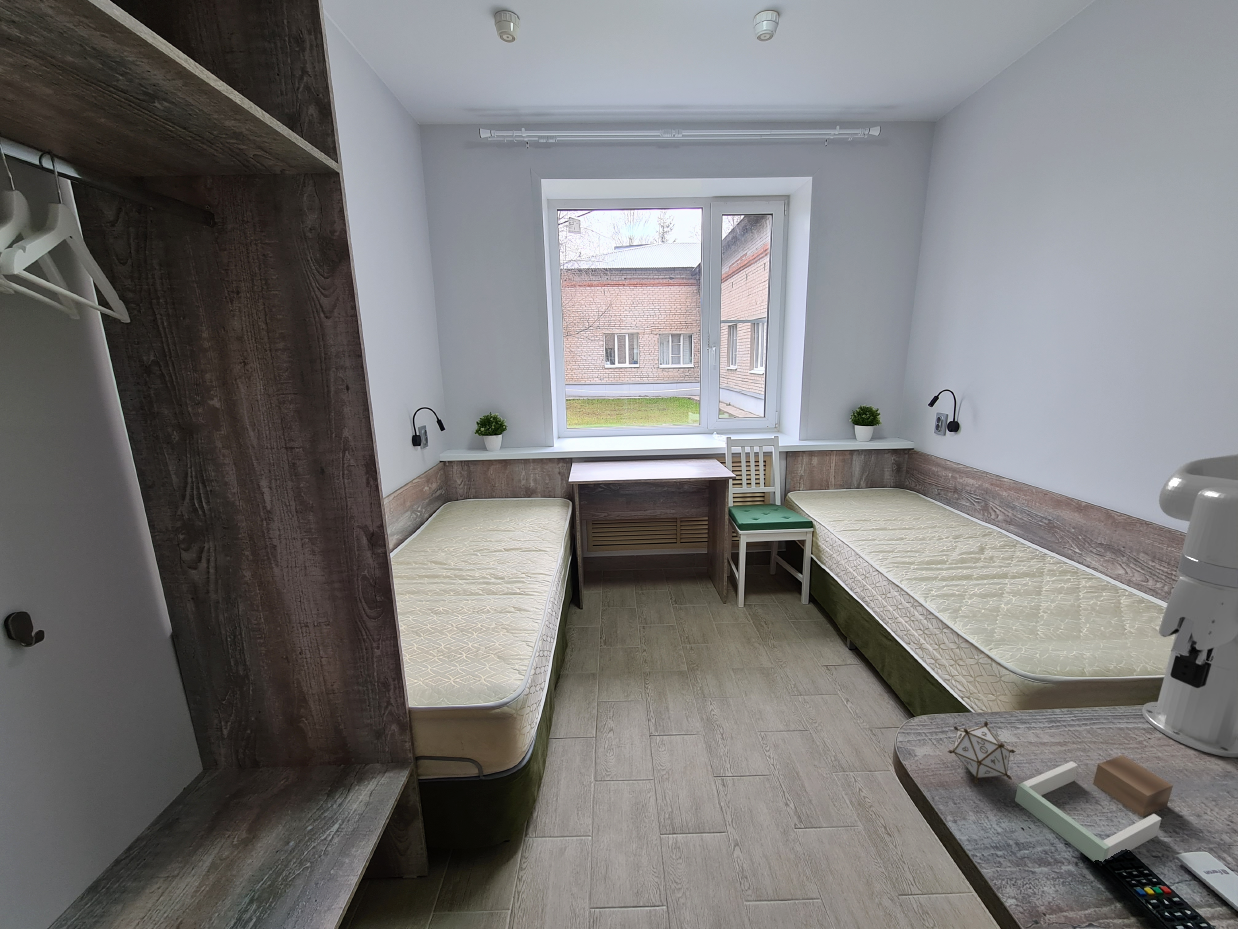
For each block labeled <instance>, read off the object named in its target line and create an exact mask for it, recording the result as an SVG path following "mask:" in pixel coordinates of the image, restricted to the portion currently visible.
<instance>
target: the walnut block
mask: <svg viewBox="0 0 1238 929" xmlns="http://www.w3.org/2000/svg"><path fill="white" fill-rule="evenodd" d="M1092 784H1093V785H1094V786H1095V787H1097V788H1098V789H1099V790H1100V791H1101V790H1102V791H1103V792H1105V794H1107V795H1108V796H1110V797H1111V798H1113V799H1115V800H1116V801H1117V802H1119V803H1120V804H1122V805H1123V806H1124V807H1127V808H1128V809H1129V810H1131V811H1132V812H1134V813H1135V814H1137V815H1138V816H1140V817H1141V818H1143V817H1145V816H1147V815H1148V816H1149V814H1153V813H1154V812H1157V811H1159V810H1161V809H1164V808H1166V807H1168V803H1169V800H1170V797H1171V794H1172V791H1173V787H1174V785H1173V784H1171V783H1169V782H1168V781H1166V780H1164V778H1161V777H1160V776H1158V775H1157V774H1155V773H1153V772H1152V771H1150V770H1148V769H1147V768H1145V767H1143V766H1141V765H1140V764H1138V763H1137V762H1135V761H1134V760H1131V759H1130V758H1127V756H1125V755H1123V754H1121V755H1119V756H1116V757H1113V758H1110V759H1108V760H1105V761H1102V762H1100V763H1098V764H1097V766H1096V771H1095V774H1094V779H1093V783H1092Z"/></svg>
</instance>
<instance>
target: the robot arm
mask: <svg viewBox="0 0 1238 929" xmlns="http://www.w3.org/2000/svg"><path fill="white" fill-rule="evenodd" d="M1158 504H1159V507H1160V509H1161V511H1162V512H1163V513H1164V514H1165V515H1166V516H1167V517H1170V518H1173V519H1175V520H1179V521H1185V522H1189V523H1188V527H1187V532H1186V535H1185V537H1184V538H1185V539H1184V541H1183V547H1182V550H1181V554H1180V558H1179V562H1178V567H1177V569H1176V574H1177V575H1178V576H1180V577H1179V578H1178V580H1177V581H1176V582H1175V585H1174V587H1173V589H1172V591H1171V594H1170V596H1169V599H1168V601H1167V604H1166V607H1165V609H1164V613H1163V616H1162V619H1161V622H1160V625H1159V628H1158V634H1159V635H1160V636H1161V637H1163V638H1167V637H1171V636H1173V635H1174V639H1173V642H1172V646H1171V650H1170V653H1169V654H1170V655H1169V658H1168V662H1167V664H1166V665H1167V666H1166V670H1165V673H1164V677H1163V681H1162V685H1161V688H1160V691H1159V695H1158V700H1157V701H1151V702H1147V703H1145V704H1144V705H1143V707H1142V713H1141V714H1142V716H1143V717H1144V719H1145V720H1146V721H1147V722H1148V723H1149V724H1150V726H1152V727H1154V728H1155V729H1156V730H1157V731H1159V732H1161V733H1163V734H1164V735H1166V736H1167V737H1169V738H1171V739H1173V740H1175V741H1177V742H1178V743H1181V744H1183V745H1185V746H1187V747H1190V748H1192V749H1196V750H1197V751H1201V752H1204V753H1206V754H1212V755H1215V756H1221V757H1228V758H1238V453H1237V454H1229V455H1222V456H1215V457H1214V456H1213V457H1208V458H1206V457H1205V458H1200V459H1196V460H1191V461H1189V462H1185V464H1183V465H1182V466H1180V467H1179V468H1177V469H1176V470H1175V471H1174V473H1173V474H1171V475H1170V476H1169V478H1168V479H1167V480H1166V481H1165V483H1164V484H1163V486H1162V488H1161V490H1160V492H1159V498H1158ZM1151 706H1157V707H1151Z"/></svg>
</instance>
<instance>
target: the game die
mask: <svg viewBox="0 0 1238 929" xmlns="http://www.w3.org/2000/svg"><path fill="white" fill-rule="evenodd" d="M983 724H984V725H981V726H974V727H972V726H971V727H964V728H960V729H959V728H958V726H956V725H953V726H952V727H953V729H954V730H955V731H957V732H956V735H955V739H954V744H953V749H948V751H947V753H949V754H954V755H955V756H956V757H957V758H958V760H959V761H960V762H961V763H962V764H963V765H964V767H965V768H967V769H968V771H969V772H970V773H971V774H972V775H973V777H974V778H973V781H974V783H975V785H976V784H977V783H978V781H979V779H985V778H996V777H1003V776H1005V777H1006V778H1007V779H1008V780H1011V781H1013V779H1012V776H1011V775H1010V774H1008V772H1009V762H1010V756H1011V754H1015V753H1016V749H1015V750H1014V749H1013V748H1012V749H1009V748H1008V747H1007V746H1006V744H1005V743H1003V742H1002V741H1001V740H1000V739H999V738H998V737H997V736H996V735H995V733H993V731H992V730H991V729H990V728H989V727H988V725H989V723H988V720H986V721H984V722H983Z"/></svg>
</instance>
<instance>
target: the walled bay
mask: <svg viewBox="0 0 1238 929" xmlns="http://www.w3.org/2000/svg"><path fill="white" fill-rule="evenodd" d="M1078 766H1079V765H1078V764H1077V763H1075V762H1074V761H1071V760H1070V761H1069V762H1067V763H1065V764H1062V765H1059V766H1058V767H1056V768H1053V769H1051V770H1048V771H1046V772H1043V773H1042V774H1039V775H1037V776H1035V777H1032V778H1030V779H1028V780H1025V781H1023V782H1020V783H1018V784H1017V788H1016V794H1015V797H1014V798H1015V799H1014V802H1016V803H1017V804H1019V805H1020V806H1021V807H1023V808H1024V809H1025V810H1027V812H1029V813H1030V814H1032V816H1034V817H1036V818H1037V819H1038V820H1040V822H1042V823H1043V824H1045V825H1046V826H1047V827H1049V828H1050V829H1051V830H1053V832H1055V833H1056V834H1057V835H1059V836H1060V837H1061V838H1063V839H1064V840H1065V841H1067V842H1068V843H1069V844H1071V846H1073V847H1074V848H1076V849H1077V850H1078V851H1079V852H1081V853H1082V854H1083V855H1085V856H1086V858H1087V857H1088V858H1089V859H1090V860H1091V861H1092V862H1094V861H1095V860H1099V861H1102V862H1103V861H1104V860H1105V859H1108V858H1110V857H1111V856H1113V855H1114V854H1116V853H1118V852H1120V851H1121V850H1125V849H1127V850H1130V851H1132V850H1133V849H1136V848H1137V847H1139V846H1140V845H1143V844H1145V843H1146V842H1148V841H1150V840H1152V839H1153V838H1155V837H1157V836H1158V833H1159V829H1160V826H1161V822H1162V818H1161V817H1160V816H1158V815H1157V814H1155V813H1151V815H1148V816H1147V817H1145V818H1143V819H1141V820H1140V821H1137V822H1135V823H1134V824H1132V825H1130V826H1128V827H1126V828H1124V829H1123V830H1121V831H1118V832H1117V833H1115V834H1113V835H1111V836H1109V837H1107V838H1106V839H1104V840H1102V839H1100V838H1099V837H1098V836H1096V835H1095V834H1093V832H1091V831H1090V830H1088V829H1087V828H1085V827H1084V826H1082V825H1081V824H1080V823H1079V822H1077V821H1076V820H1074V819H1073V818H1072V817H1070V816H1069V815H1068V814H1066V813H1064V812H1063V811H1062V810H1061V809H1059V808H1058V807H1057V806H1055V805H1054V804H1052V803H1051V802H1050V801H1048V800H1047V799H1046V798H1044V797H1043V796H1044V795H1045V794H1046V795H1047V794H1048V793H1050V792H1053V791H1054V790H1056V789H1059V788H1061V787H1064V786H1066V785H1067V784H1070V783H1072V782H1074V781H1075V778H1076V775H1077V772H1078V771H1077V770H1078Z"/></svg>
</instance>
